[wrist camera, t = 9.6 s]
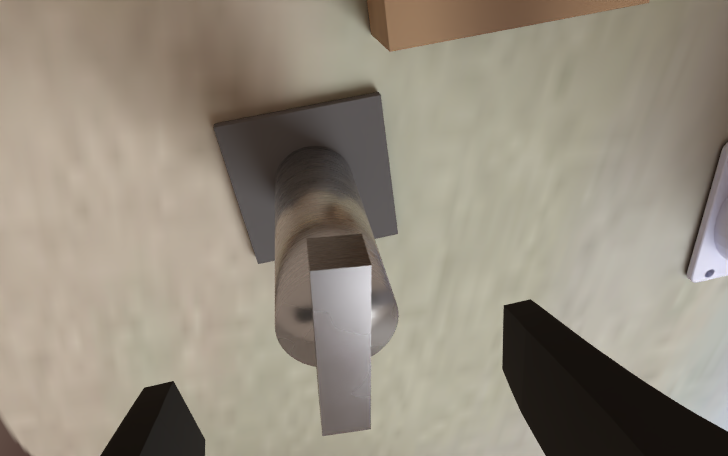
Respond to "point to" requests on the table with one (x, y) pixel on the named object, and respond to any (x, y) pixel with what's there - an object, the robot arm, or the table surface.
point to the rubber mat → (298, 130)
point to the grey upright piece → (330, 284)
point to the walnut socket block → (469, 17)
